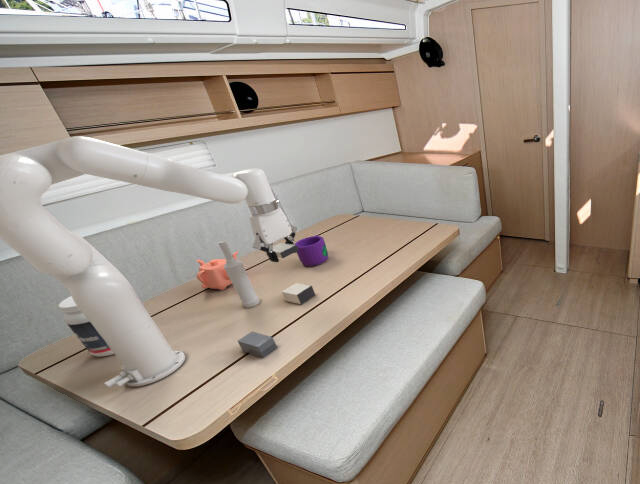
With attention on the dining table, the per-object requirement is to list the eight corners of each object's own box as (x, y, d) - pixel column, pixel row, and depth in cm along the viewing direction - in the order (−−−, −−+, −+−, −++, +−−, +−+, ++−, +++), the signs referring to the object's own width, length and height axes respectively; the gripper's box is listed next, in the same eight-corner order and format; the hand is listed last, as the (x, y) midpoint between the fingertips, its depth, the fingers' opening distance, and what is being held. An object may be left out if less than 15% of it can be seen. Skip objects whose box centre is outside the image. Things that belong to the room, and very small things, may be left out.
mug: (325, 266, 149) (318, 245, 145) (297, 269, 148) (289, 248, 144) (337, 248, 165) (330, 228, 160) (311, 251, 164) (304, 232, 159)
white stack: (301, 304, 124) (297, 295, 122) (285, 300, 127) (281, 291, 125) (315, 295, 129) (312, 285, 127) (299, 291, 132) (296, 282, 130)
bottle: (251, 308, 124) (220, 245, 113) (239, 307, 125) (208, 245, 114) (263, 300, 128) (235, 238, 117) (252, 299, 129) (222, 238, 118)
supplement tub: (81, 357, 106) (40, 308, 98) (128, 329, 118) (96, 283, 110) (113, 360, 104) (75, 310, 96) (159, 331, 115) (128, 284, 107)
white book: (283, 258, 116) (281, 252, 115) (266, 255, 119) (264, 250, 118) (298, 250, 121) (296, 244, 120) (282, 247, 124) (280, 242, 123)
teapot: (207, 281, 144) (195, 258, 140) (248, 271, 150) (237, 249, 145) (197, 298, 133) (183, 273, 128) (242, 287, 138) (230, 263, 133)
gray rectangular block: (263, 357, 101) (258, 347, 99) (242, 351, 104) (237, 340, 102) (277, 347, 104) (272, 337, 102) (257, 341, 107) (251, 331, 106)
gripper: (280, 198, 121) (298, 244, 129) (228, 217, 107) (252, 268, 115) (295, 199, 118) (312, 246, 126) (245, 218, 104) (268, 270, 112)
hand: (284, 256), depth 120 cm, fingers closed on white book, 6 cm apart
